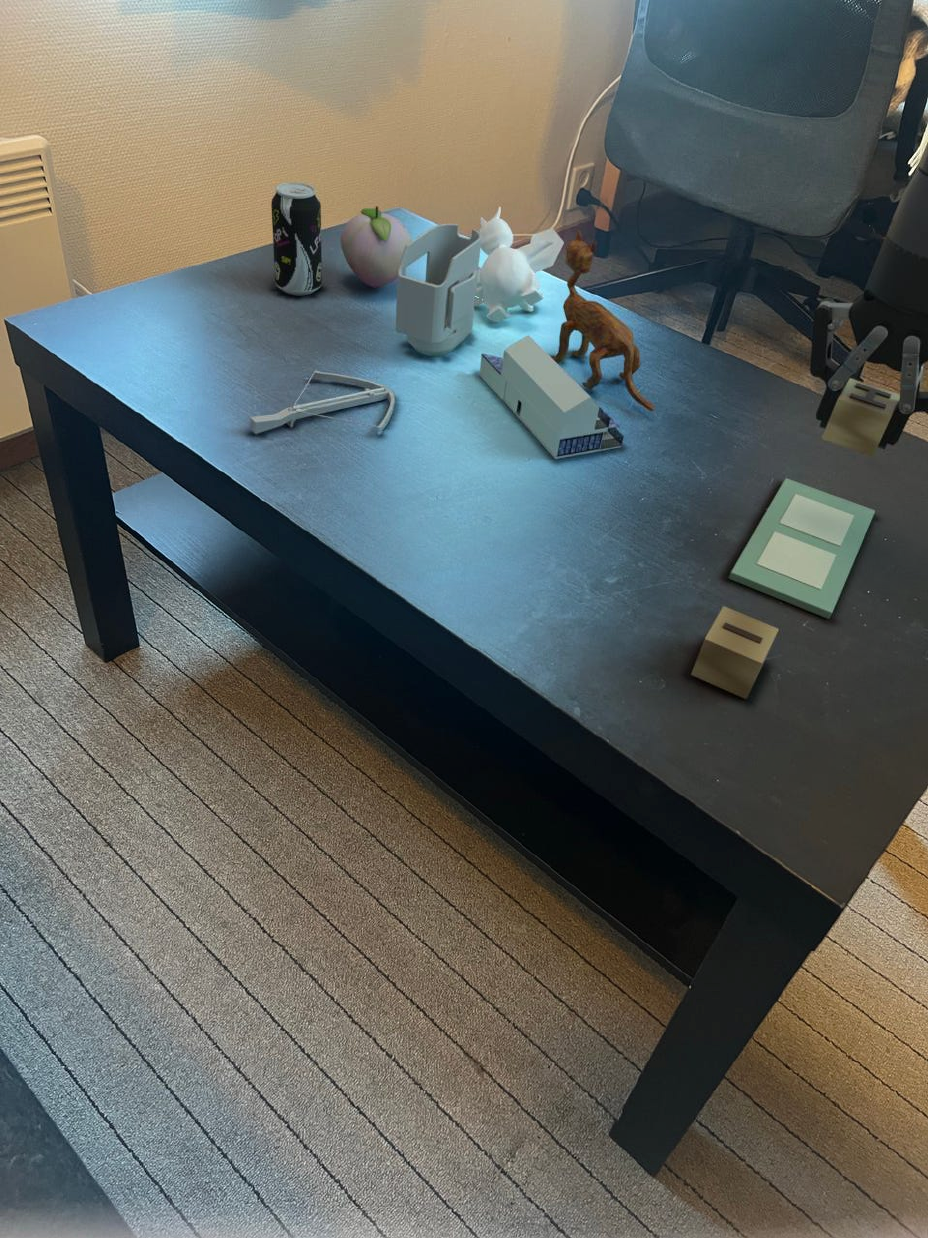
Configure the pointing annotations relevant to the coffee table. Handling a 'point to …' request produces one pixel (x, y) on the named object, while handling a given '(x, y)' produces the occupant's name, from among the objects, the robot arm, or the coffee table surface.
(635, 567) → the coffee table surface
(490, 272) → the character figurine
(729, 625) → the tan cube
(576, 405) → the building
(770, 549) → the word board
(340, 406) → the crossbow
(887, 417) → the light wooden cube
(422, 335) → the cable organizer
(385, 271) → the decorative fruit
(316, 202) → the beverage can
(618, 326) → the cat figurine
